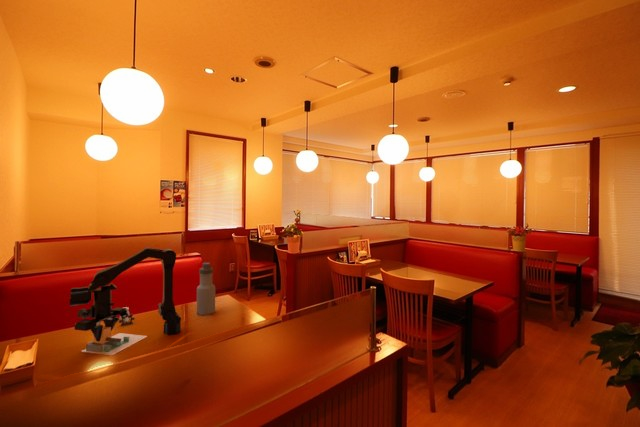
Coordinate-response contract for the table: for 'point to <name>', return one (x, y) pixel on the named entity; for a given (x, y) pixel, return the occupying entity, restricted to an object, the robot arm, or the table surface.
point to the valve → (126, 318)
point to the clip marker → (124, 341)
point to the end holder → (96, 346)
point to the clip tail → (108, 348)
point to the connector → (106, 336)
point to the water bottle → (206, 291)
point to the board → (121, 336)
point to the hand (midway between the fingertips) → (102, 339)
